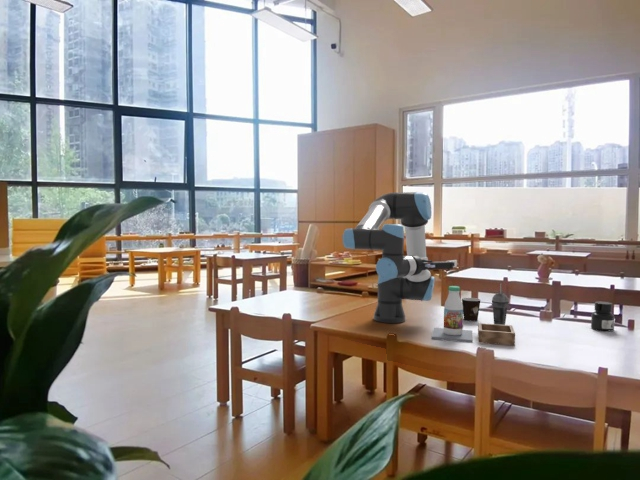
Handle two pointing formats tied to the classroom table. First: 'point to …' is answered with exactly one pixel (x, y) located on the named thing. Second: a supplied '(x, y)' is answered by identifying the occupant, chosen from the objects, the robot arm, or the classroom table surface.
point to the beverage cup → (500, 307)
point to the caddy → (496, 334)
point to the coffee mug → (470, 308)
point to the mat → (440, 335)
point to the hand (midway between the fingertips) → (441, 261)
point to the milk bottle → (453, 312)
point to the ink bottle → (602, 316)
